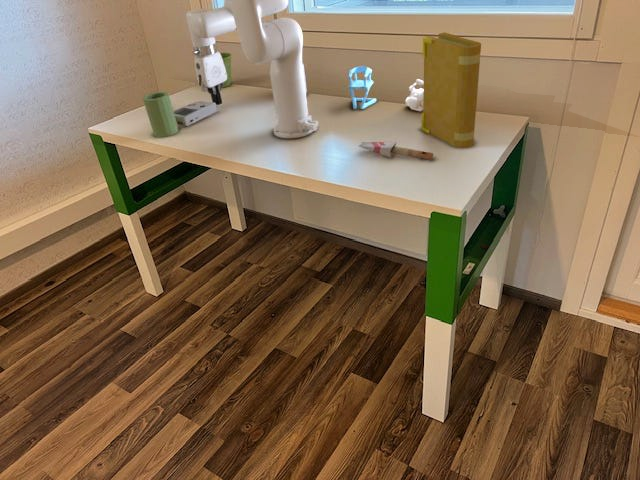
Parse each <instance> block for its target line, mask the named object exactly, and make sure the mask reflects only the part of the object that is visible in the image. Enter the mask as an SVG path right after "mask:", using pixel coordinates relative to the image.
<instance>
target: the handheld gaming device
mask: <svg viewBox="0 0 640 480" xmlns="http://www.w3.org/2000/svg"><path fill="white" fill-rule="evenodd" d="M173 111H174V115H175V118H176V122H177V123H182V125H183V126H185V127H189V126H191V125H192V124H195V123H197V122H199V121H201V120H203V119H205V118H207V117H209V116H211V115H213V114H215V113H217V112H218V107H217V105H216V103H214V102H212V101H206V100H205V101H204V100H200V101H194V102H192V103H189V104H187V105H184V106H182V107H180V108H178V109H177V108H176V110H173Z"/></svg>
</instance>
